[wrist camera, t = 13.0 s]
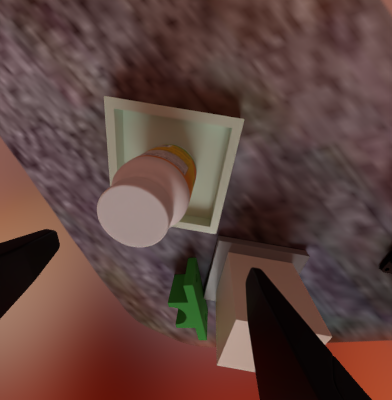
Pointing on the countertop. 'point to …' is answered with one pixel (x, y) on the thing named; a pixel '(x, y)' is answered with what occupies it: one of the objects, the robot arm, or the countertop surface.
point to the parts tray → (184, 137)
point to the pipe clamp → (190, 300)
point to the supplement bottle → (148, 195)
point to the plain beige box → (236, 294)
